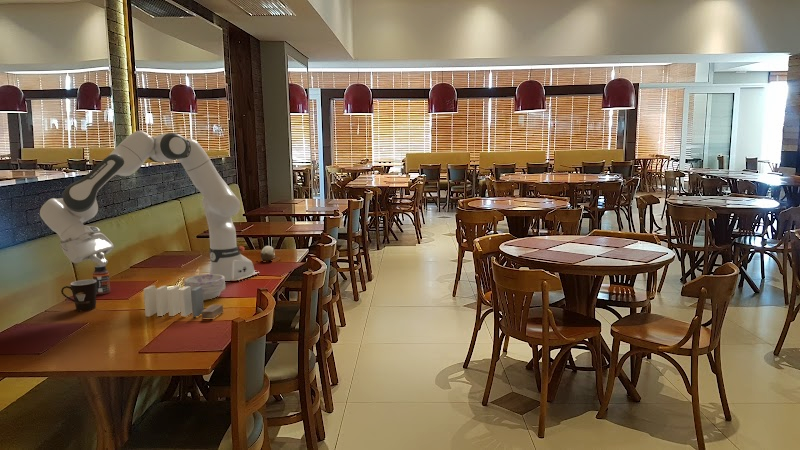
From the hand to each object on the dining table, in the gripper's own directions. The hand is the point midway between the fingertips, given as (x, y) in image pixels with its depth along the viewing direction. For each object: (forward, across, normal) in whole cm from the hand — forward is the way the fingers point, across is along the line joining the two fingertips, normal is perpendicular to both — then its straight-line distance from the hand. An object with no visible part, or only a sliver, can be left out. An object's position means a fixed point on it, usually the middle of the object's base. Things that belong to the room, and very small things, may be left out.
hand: (104, 264), depth 214 cm
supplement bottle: (-1, +25, +27) cm, 36 cm away
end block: (+41, 0, -16) cm, 44 cm away
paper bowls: (+31, +23, -6) cm, 39 cm away
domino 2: (+28, 0, -2) cm, 28 cm away
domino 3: (+31, 0, -6) cm, 31 cm away
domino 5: (+37, 0, -12) cm, 39 cm away
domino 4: (+34, 0, -9) cm, 35 cm away
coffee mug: (+3, +4, +22) cm, 23 cm away
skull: (+31, +90, -6) cm, 95 cm away
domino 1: (+24, 0, +1) cm, 24 cm away
